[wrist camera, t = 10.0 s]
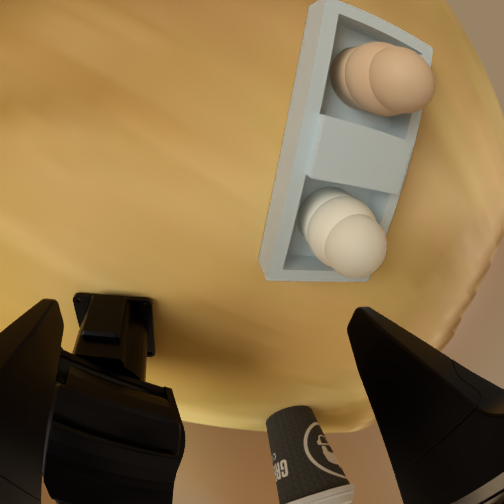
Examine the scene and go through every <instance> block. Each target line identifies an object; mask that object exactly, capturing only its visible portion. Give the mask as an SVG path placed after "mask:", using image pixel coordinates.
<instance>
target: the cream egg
mask: <svg viewBox="0 0 504 504" xmlns="http://www.w3.org/2000/svg"><path fill="white" fill-rule="evenodd" d="M297 224H298V228H299V231H300V233H301V234H302V236H303V237H304V238H305V240H306V241H307V242H308V244H309V246H310V248H311V250H312V252H313V253H314V255H315V256H316V257H317V258H318V259H319V260H320V261H321V262H322V263H324V264H325V265H327V266H330V267H332V268H333V269H334V270H335V271H336V272H338V273H339V274H341V275H343V276H345V277H349V278H362V277H366V276H368V275H370V274H372V273H373V272H375V271H376V270H377V269H378V268H379V267H380V266H381V264H382V262H383V261H384V259H385V256H386V252H387V240H386V236H385V233H384V231H383V229H382V227H381V226H380V225H379V224H378V223H377V221H376V218H375V216H374V214H373V212H372V211H371V210H370V208H369V207H368V206H367V205H365V204H364V203H363V202H361V201H360V200H358V199H355V198H354V197H352V196H351V195H350V194H348V193H347V192H346V191H344V190H343V189H341V188H338V187H334V186H326V187H322V188H319V189H317V190H315V191H313V192H312V193H311V194H309V195H308V196H307V197H306V198H305V200H304V201H303V203H302V204H301V206H300V208H299V211H298V216H297Z"/></svg>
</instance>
